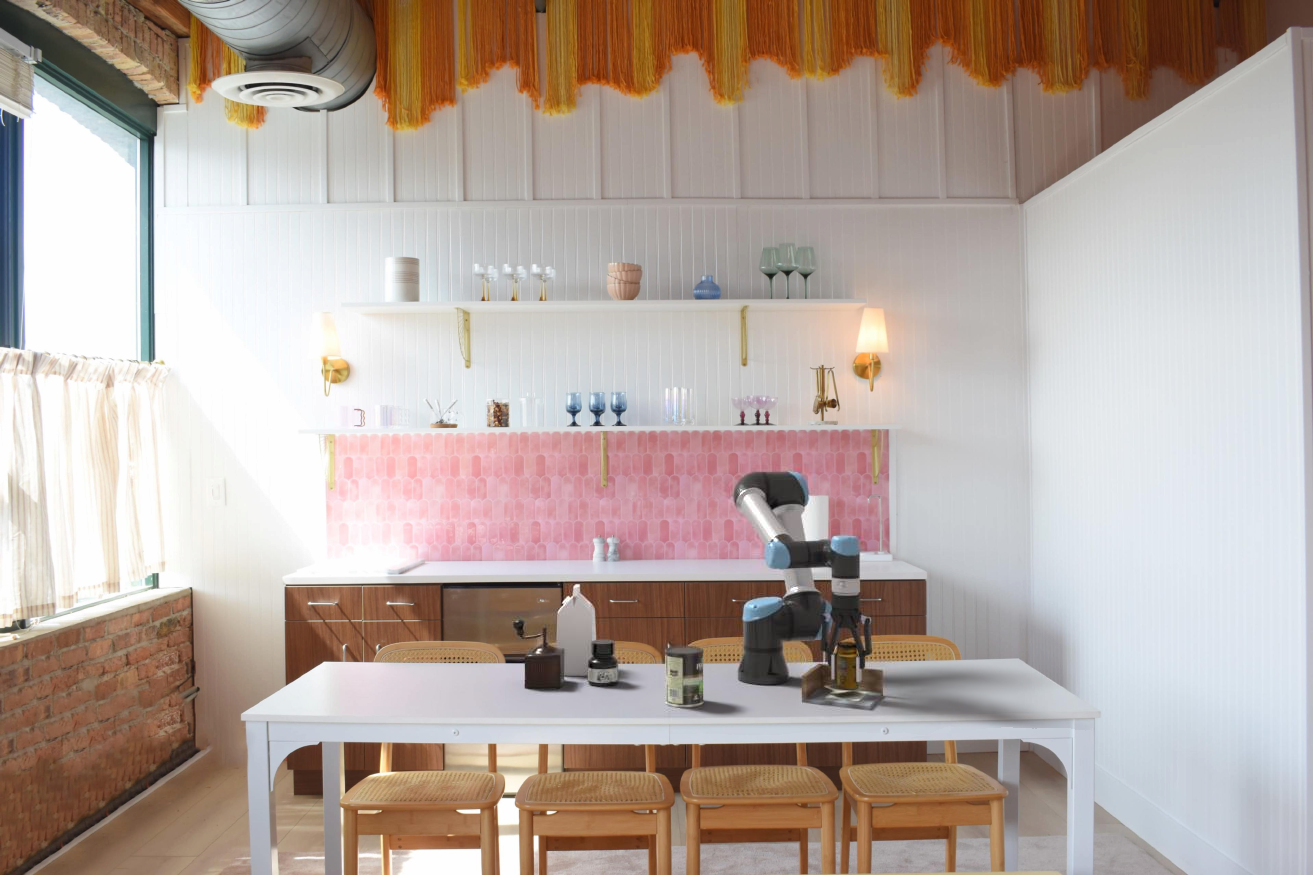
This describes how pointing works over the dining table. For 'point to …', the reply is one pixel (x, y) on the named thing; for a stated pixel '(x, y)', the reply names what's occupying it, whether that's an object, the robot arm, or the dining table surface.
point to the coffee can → (684, 676)
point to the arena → (851, 699)
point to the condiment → (845, 668)
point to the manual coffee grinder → (542, 662)
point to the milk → (576, 633)
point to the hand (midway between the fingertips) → (846, 679)
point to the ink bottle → (603, 664)
